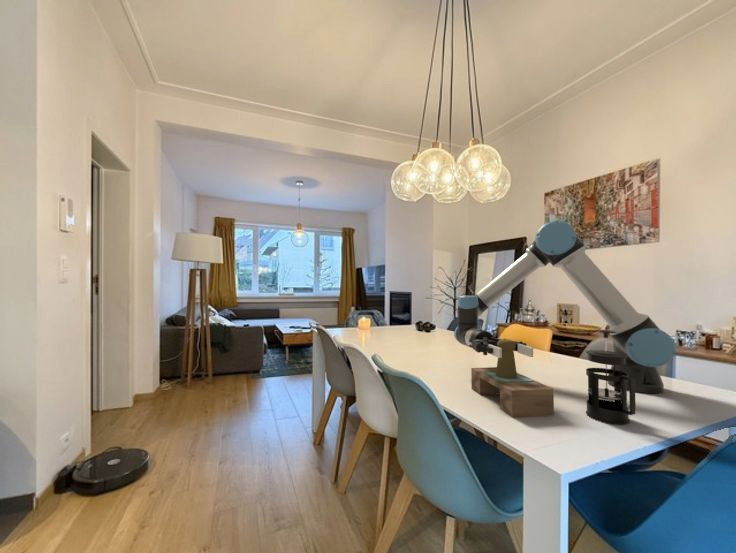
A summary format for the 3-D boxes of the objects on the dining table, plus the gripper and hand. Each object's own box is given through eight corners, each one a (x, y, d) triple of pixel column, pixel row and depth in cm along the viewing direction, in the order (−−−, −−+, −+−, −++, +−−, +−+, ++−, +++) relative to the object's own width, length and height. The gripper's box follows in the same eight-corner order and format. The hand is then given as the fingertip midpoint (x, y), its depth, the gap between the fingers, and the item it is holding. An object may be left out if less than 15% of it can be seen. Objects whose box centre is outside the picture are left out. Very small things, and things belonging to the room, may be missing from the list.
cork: (520, 379, 96) (520, 341, 96) (500, 378, 96) (500, 341, 96) (512, 373, 102) (512, 338, 102) (492, 373, 102) (492, 337, 102)
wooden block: (471, 388, 110) (471, 367, 110) (504, 387, 111) (504, 366, 111) (512, 417, 86) (511, 389, 86) (553, 415, 87) (553, 387, 88)
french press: (575, 412, 90) (574, 328, 90) (599, 408, 93) (597, 327, 94) (620, 430, 79) (619, 334, 79) (646, 424, 82) (644, 332, 82)
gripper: (508, 349, 118) (551, 364, 96) (450, 351, 115) (480, 366, 93) (508, 329, 118) (550, 339, 96) (450, 329, 115) (480, 340, 93)
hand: (516, 352), depth 94 cm, fingers open, 9 cm apart
